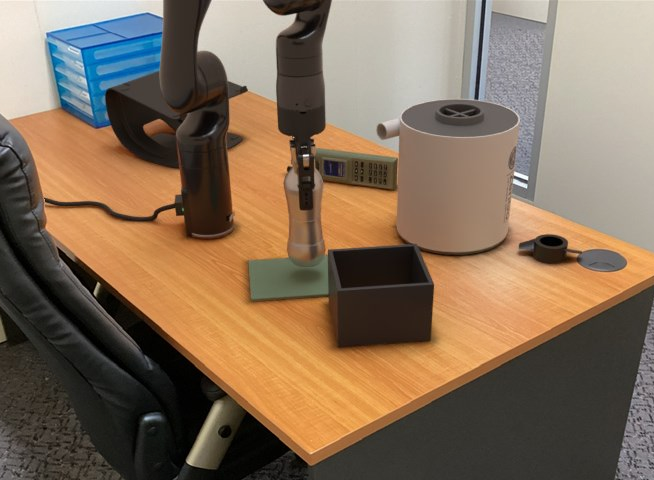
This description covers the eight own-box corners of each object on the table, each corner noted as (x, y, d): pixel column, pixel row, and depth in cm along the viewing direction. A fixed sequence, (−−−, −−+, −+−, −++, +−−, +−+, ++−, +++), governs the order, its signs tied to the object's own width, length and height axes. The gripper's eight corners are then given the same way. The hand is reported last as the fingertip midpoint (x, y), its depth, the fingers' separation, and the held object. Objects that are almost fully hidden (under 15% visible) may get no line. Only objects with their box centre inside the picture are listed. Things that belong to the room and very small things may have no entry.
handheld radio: (393, 191, 178) (284, 177, 186) (397, 186, 181) (290, 172, 189) (394, 161, 175) (283, 147, 183) (399, 156, 177) (289, 143, 186)
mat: (251, 301, 142) (250, 299, 142) (248, 262, 154) (248, 260, 153) (369, 293, 143) (369, 291, 143) (358, 255, 155) (358, 253, 154)
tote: (338, 347, 130) (337, 290, 124) (328, 303, 141) (327, 249, 135) (430, 340, 131) (434, 284, 125) (414, 297, 142) (416, 243, 136)
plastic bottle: (322, 273, 144) (319, 160, 132) (283, 270, 145) (277, 158, 134) (329, 255, 149) (327, 145, 138) (291, 253, 150) (286, 144, 139)
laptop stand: (183, 121, 219) (176, 60, 211) (254, 138, 207) (249, 74, 199) (109, 152, 202) (99, 87, 194) (182, 172, 190) (174, 103, 182)
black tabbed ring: (540, 240, 158) (542, 226, 156) (585, 258, 151) (588, 244, 150) (513, 253, 154) (515, 238, 152) (558, 272, 147) (561, 257, 146)
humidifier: (445, 268, 150) (454, 140, 137) (371, 228, 164) (373, 108, 151) (530, 235, 160) (546, 112, 147) (454, 199, 174) (462, 85, 161)
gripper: (274, 88, 137) (279, 185, 146) (279, 116, 125) (284, 220, 134) (320, 85, 137) (322, 182, 147) (330, 113, 125) (331, 217, 135)
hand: (304, 200), depth 140 cm, fingers closed on plastic bottle, 6 cm apart
